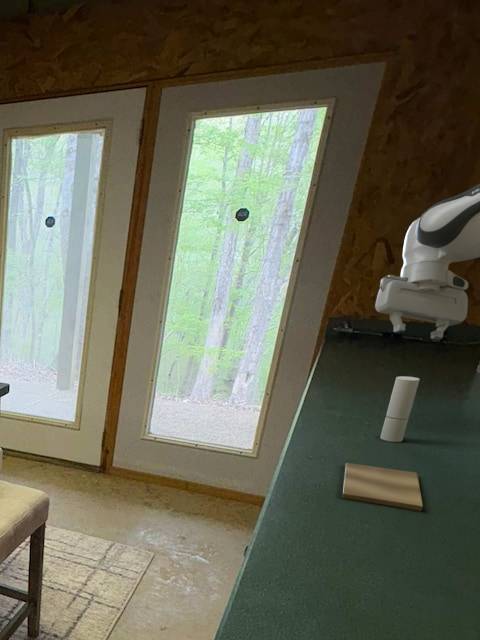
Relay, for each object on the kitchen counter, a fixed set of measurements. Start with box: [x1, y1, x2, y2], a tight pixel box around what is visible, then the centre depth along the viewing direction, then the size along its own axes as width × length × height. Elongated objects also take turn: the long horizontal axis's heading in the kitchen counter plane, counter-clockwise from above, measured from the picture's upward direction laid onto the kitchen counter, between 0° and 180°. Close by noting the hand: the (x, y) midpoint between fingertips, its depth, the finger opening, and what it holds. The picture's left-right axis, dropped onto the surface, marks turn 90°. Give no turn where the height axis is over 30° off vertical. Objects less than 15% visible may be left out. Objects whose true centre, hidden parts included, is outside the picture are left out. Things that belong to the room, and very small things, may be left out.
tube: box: [379, 375, 421, 443], centre depth 149 cm, size 4×4×15 cm
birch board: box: [341, 462, 424, 512], centre depth 125 cm, size 20×12×1 cm, turn 144°
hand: (417, 335), depth 151 cm, fingers open, 8 cm apart
